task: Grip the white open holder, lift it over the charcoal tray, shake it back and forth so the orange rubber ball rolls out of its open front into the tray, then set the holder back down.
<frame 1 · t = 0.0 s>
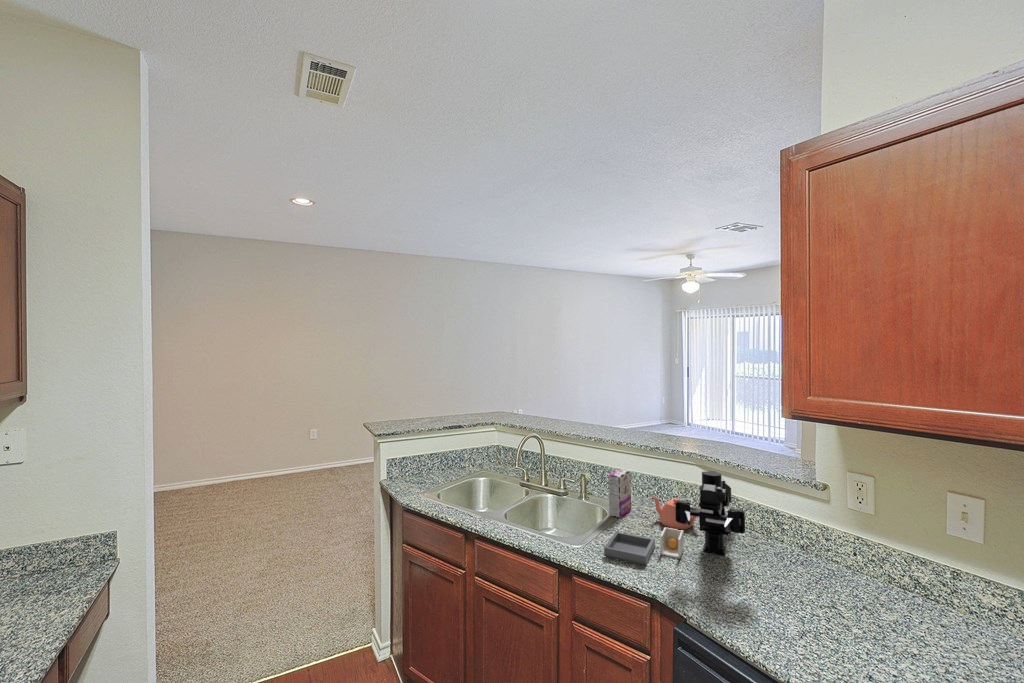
hand: (706, 526, 124), 17 cm above the counter, tool horizontal, fingers open, 9 cm apart
ball: (672, 543, 145), point 2 cm above the counter, touching white open holder
white open holder: (672, 551, 144), on the counter, touching ball
teapot: (674, 524, 168), on the counter
candy bar box: (620, 513, 179), on the counter
tray: (630, 552, 144), on the counter
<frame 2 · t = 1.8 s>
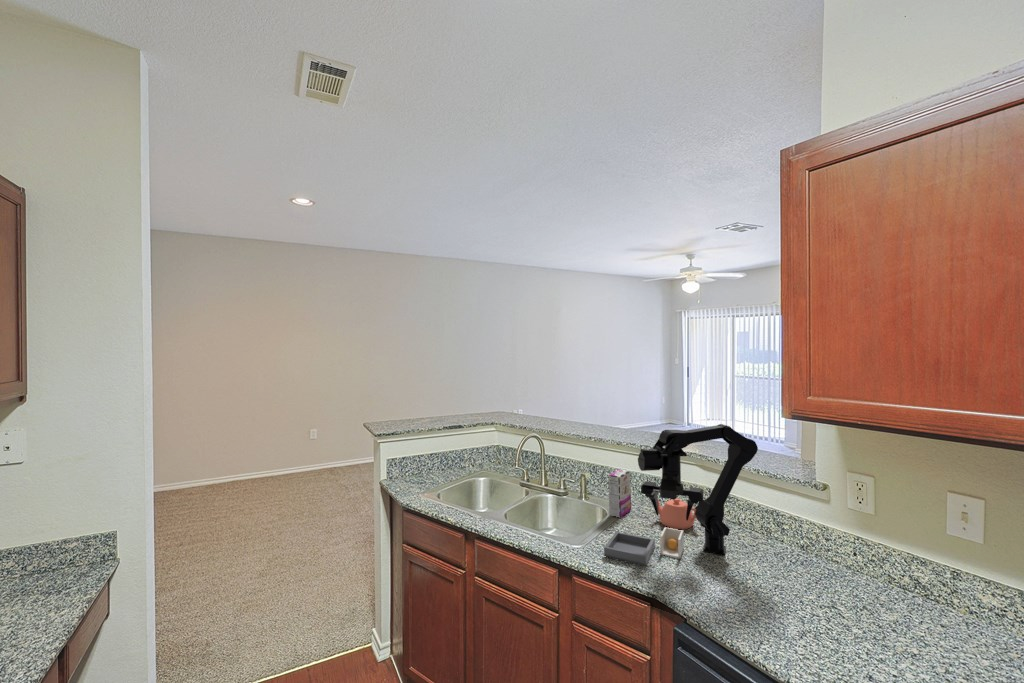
hand: (672, 517, 144), 11 cm above the counter, tool pointing down, fingers open, 9 cm apart
ball: (672, 544, 145), point 2 cm above the counter, tilted 17°, touching white open holder
everything else where it was.
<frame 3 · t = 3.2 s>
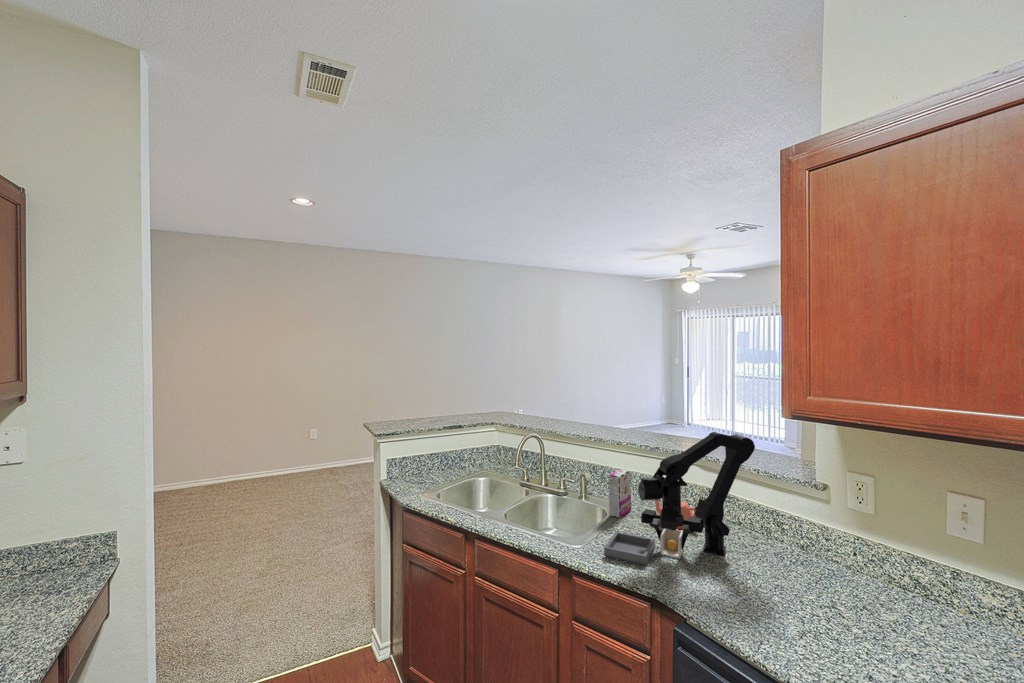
hand: (672, 547, 144), 2 cm above the counter, tool pointing down, fingers closed on white open holder, 6 cm apart
ball: (672, 545, 144), point 2 cm above the counter, tilted 47°, touching white open holder
white open holder: (672, 551, 144), on the counter, touching ball, gripper
everything else where it was.
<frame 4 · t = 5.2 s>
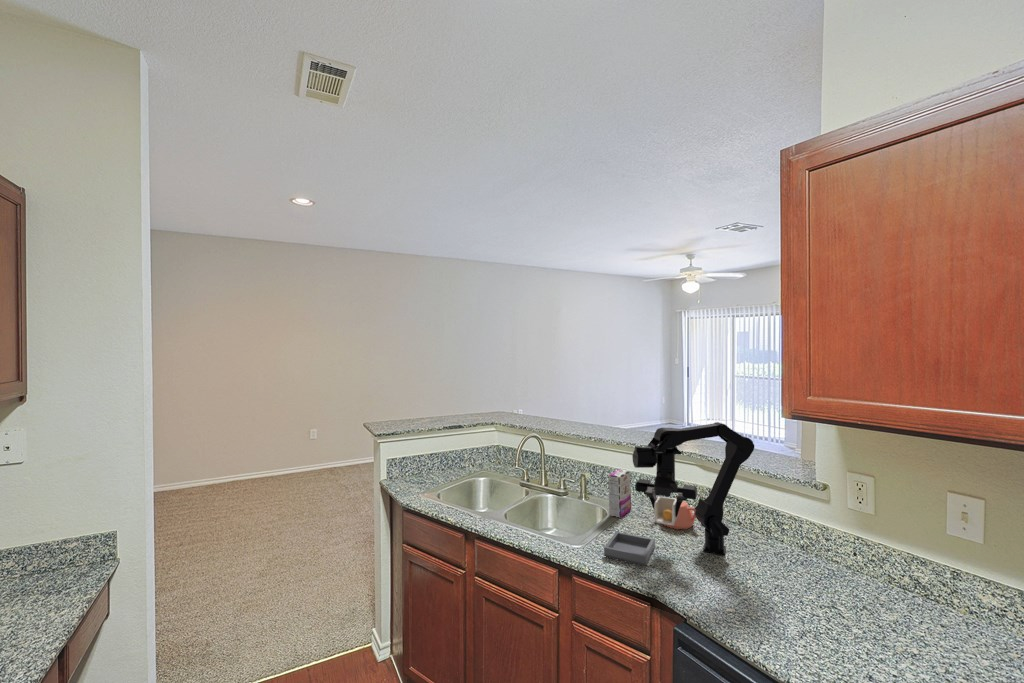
hand: (666, 514, 145), 12 cm above the counter, tool pointing down, fingers closed on white open holder, 6 cm apart
ball: (667, 514, 144), point 12 cm above the counter, tilted 93°, touching white open holder
white open holder: (666, 519, 145), point 10 cm above the counter, touching ball, gripper
everything else where it was.
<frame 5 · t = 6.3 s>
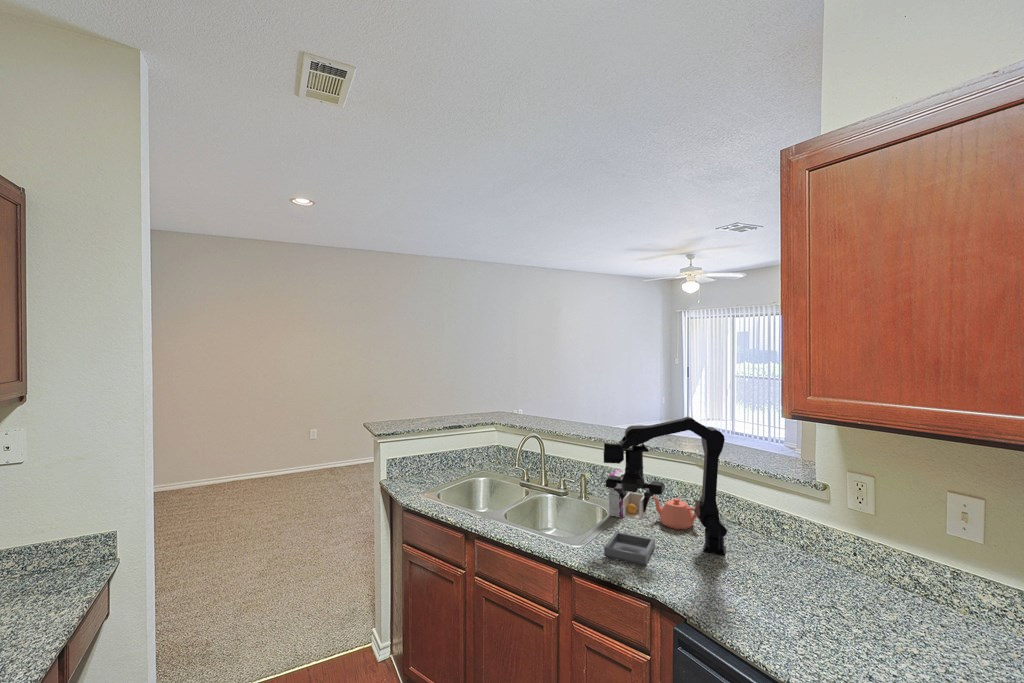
hand: (634, 510, 150), 11 cm above the counter, tool pointing down, fingers closed on white open holder, 6 cm apart
ball: (631, 508, 150), point 12 cm above the counter, tilted 82°, touching white open holder
white open holder: (634, 514, 150), point 10 cm above the counter, touching ball, gripper
everything else where it was.
when the fingers open (2 cm above the counter, at t = 12.0 s): white open holder drops 1 cm, on the counter.
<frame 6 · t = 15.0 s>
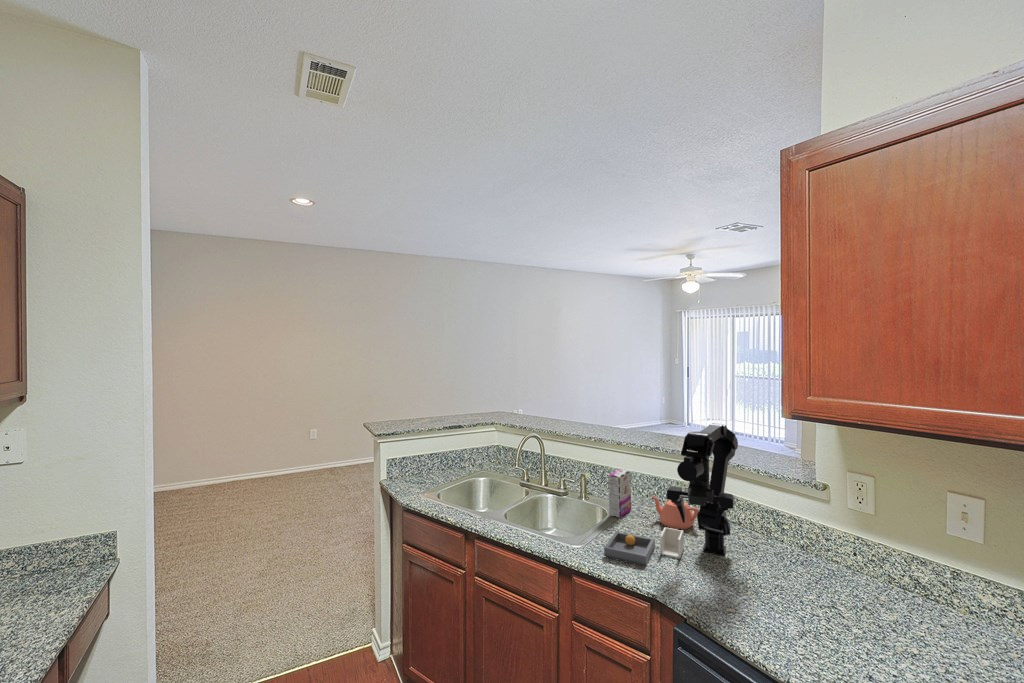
hand: (700, 525, 136), 12 cm above the counter, tool pointing down, fingers open, 9 cm apart
ball: (630, 540, 148), point 2 cm above the counter, tilted 144°, touching tray
white open holder: (672, 551, 144), on the counter
everything else where it was.
at the end: ball inside the target area on the tray (3.8 cm from its centre), point 2.4 cm above the tray's base; white open holder tilted 0°; the gripper is holding nothing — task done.
